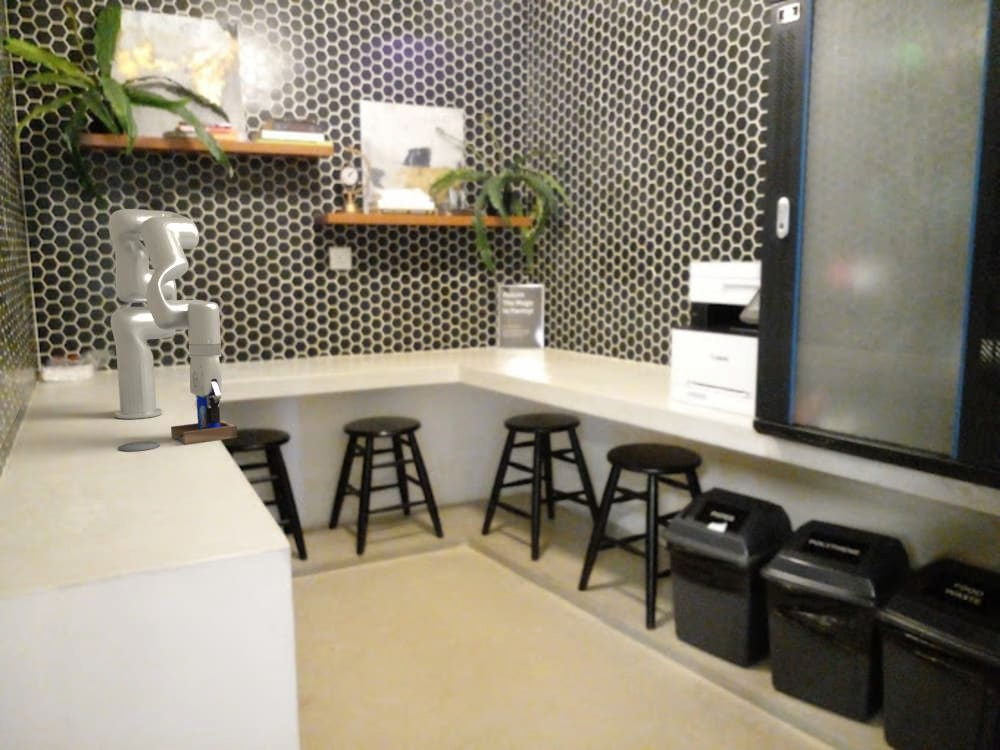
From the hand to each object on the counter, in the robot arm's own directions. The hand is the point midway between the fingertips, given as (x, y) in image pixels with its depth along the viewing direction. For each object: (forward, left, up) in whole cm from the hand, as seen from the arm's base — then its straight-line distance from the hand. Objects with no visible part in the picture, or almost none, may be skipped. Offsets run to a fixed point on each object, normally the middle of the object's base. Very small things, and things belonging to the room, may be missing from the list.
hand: (208, 420), depth 192 cm
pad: (0, -17, -4) cm, 18 cm away
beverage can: (0, 0, -4) cm, 4 cm away
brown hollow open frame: (0, -1, -4) cm, 4 cm away
